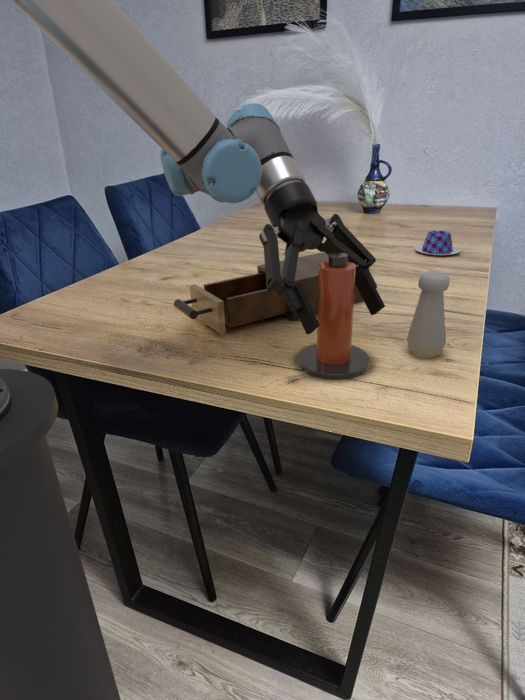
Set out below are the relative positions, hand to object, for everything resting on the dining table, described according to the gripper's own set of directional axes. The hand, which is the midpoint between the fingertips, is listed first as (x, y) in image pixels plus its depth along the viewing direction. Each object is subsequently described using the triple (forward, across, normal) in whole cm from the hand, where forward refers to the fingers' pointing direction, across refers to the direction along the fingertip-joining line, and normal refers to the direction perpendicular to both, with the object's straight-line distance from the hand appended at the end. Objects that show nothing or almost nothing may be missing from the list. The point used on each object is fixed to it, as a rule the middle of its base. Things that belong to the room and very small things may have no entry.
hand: (347, 320), depth 67 cm
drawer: (-14, +4, -24) cm, 28 cm away
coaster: (+4, 0, -8) cm, 8 cm away
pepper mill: (+3, 0, -7) cm, 8 cm away
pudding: (-20, -65, -32) cm, 75 cm away
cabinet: (-13, -14, -24) cm, 31 cm away
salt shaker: (+8, -14, -3) cm, 16 cm away
